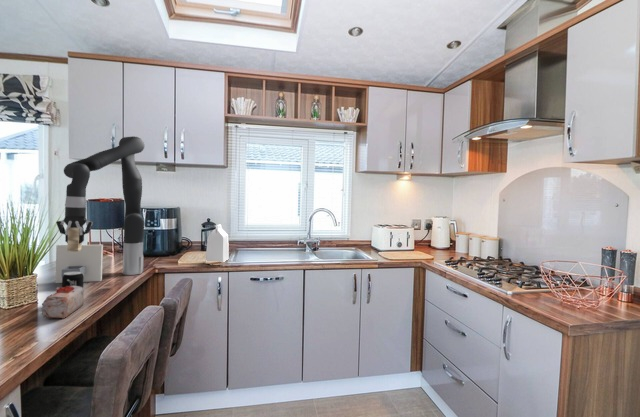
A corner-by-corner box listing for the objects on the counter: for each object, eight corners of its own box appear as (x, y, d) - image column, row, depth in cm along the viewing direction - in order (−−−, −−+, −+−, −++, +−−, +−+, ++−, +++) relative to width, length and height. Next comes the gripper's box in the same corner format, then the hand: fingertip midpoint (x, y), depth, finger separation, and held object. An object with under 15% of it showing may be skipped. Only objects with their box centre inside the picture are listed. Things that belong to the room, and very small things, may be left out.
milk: (222, 265, 193) (224, 226, 192) (205, 264, 193) (206, 225, 192) (228, 262, 205) (230, 224, 204) (212, 261, 205) (213, 223, 204)
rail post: (81, 249, 142) (82, 226, 141) (77, 251, 138) (78, 227, 138) (71, 249, 140) (71, 226, 140) (67, 251, 136) (68, 227, 136)
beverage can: (59, 306, 115) (60, 275, 114) (64, 300, 120) (65, 271, 120) (80, 304, 118) (81, 274, 117) (84, 298, 124) (85, 270, 123)
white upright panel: (101, 279, 150) (102, 244, 150) (94, 286, 140) (95, 248, 139) (57, 281, 144) (58, 244, 143) (45, 288, 133) (46, 248, 132)
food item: (66, 320, 103) (67, 292, 103) (39, 321, 101) (39, 292, 101) (86, 306, 116) (86, 281, 116) (61, 307, 114) (62, 281, 114)
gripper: (96, 206, 145) (95, 241, 145) (60, 205, 139) (59, 241, 140) (91, 207, 138) (90, 244, 138) (52, 206, 132) (51, 244, 133)
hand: (74, 242), depth 139 cm, fingers closed on rail post, 4 cm apart
